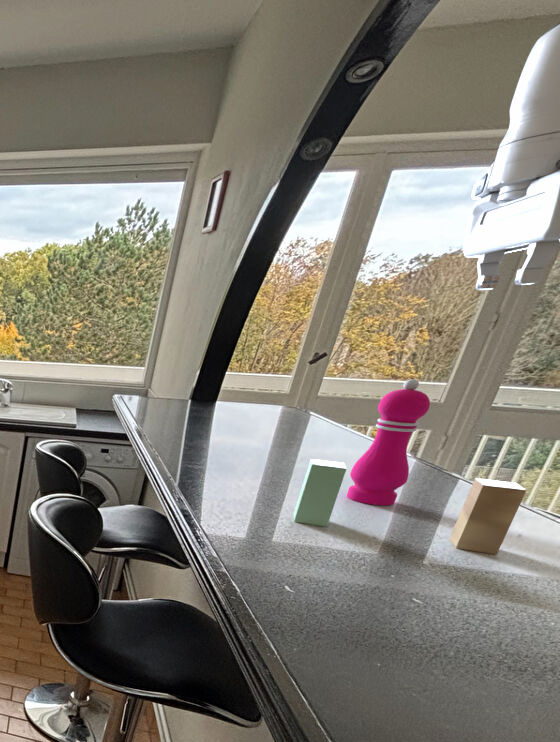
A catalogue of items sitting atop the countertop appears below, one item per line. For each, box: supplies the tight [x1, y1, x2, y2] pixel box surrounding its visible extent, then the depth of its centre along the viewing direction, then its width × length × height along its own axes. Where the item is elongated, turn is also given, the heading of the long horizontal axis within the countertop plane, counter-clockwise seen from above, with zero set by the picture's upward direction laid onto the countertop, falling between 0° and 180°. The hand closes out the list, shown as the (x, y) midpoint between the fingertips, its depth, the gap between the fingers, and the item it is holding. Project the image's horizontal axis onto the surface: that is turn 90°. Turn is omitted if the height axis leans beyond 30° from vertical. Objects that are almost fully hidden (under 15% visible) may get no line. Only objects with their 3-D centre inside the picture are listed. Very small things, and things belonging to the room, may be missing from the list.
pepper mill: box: [346, 378, 431, 507], centre depth 96 cm, size 7×7×20 cm
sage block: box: [292, 458, 347, 528], centre depth 88 cm, size 4×4×9 cm
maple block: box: [449, 477, 527, 556], centre depth 79 cm, size 4×4×9 cm
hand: (504, 287), depth 78 cm, fingers open, 8 cm apart
